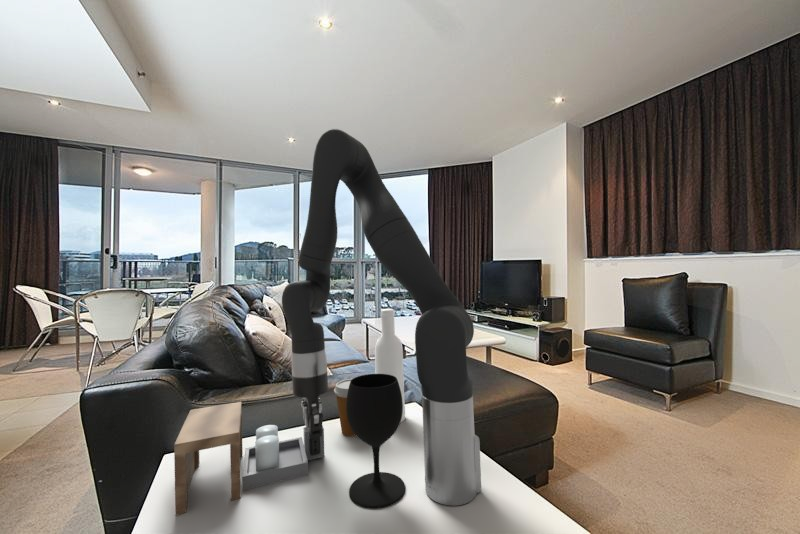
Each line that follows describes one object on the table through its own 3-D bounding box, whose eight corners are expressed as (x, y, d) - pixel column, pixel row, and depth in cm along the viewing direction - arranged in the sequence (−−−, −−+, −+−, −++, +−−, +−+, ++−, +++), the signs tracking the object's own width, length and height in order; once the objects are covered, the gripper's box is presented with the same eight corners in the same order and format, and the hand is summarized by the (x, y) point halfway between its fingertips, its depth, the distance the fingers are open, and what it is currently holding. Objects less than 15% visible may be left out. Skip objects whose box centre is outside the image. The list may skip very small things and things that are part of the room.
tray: (319, 444, 82) (318, 414, 82) (328, 470, 71) (327, 435, 71) (245, 459, 76) (244, 427, 76) (242, 490, 65) (241, 452, 65)
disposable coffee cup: (349, 443, 82) (347, 392, 82) (328, 431, 89) (326, 383, 89) (380, 430, 88) (378, 382, 88) (358, 419, 95) (357, 375, 96)
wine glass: (399, 512, 57) (395, 390, 58) (340, 505, 59) (336, 388, 60) (410, 476, 67) (406, 372, 68) (359, 471, 70) (356, 371, 70)
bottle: (383, 412, 100) (380, 308, 101) (409, 415, 97) (405, 308, 98) (371, 423, 92) (368, 311, 93) (399, 427, 90) (395, 311, 90)
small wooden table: (242, 454, 78) (241, 401, 79) (240, 498, 62) (239, 432, 63) (191, 465, 74) (190, 409, 75) (175, 515, 58) (174, 444, 59)
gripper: (333, 375, 71) (338, 461, 71) (321, 362, 84) (325, 434, 83) (295, 382, 68) (300, 471, 68) (289, 367, 81) (293, 442, 81)
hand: (314, 450), depth 76 cm, fingers closed on tray, 2 cm apart
